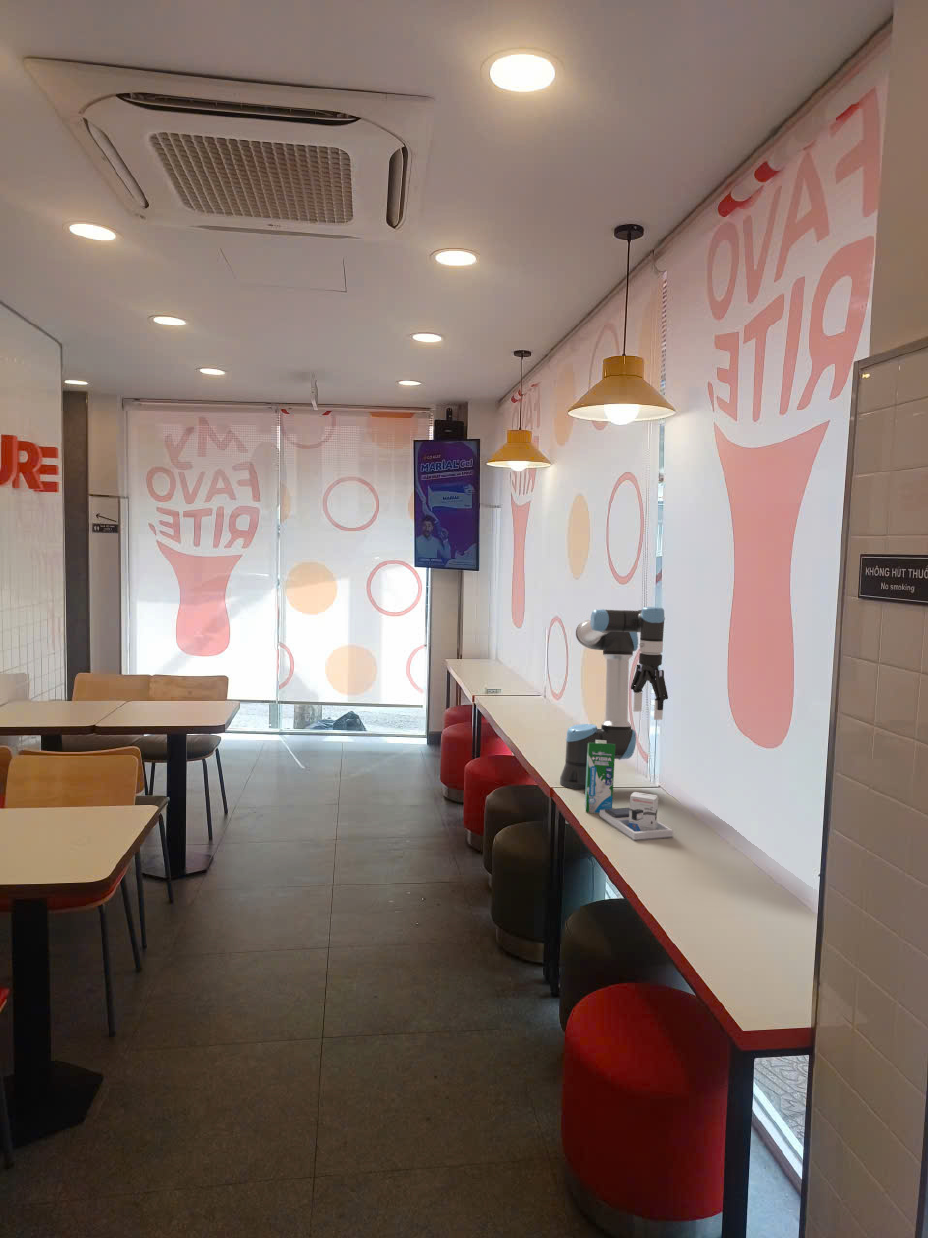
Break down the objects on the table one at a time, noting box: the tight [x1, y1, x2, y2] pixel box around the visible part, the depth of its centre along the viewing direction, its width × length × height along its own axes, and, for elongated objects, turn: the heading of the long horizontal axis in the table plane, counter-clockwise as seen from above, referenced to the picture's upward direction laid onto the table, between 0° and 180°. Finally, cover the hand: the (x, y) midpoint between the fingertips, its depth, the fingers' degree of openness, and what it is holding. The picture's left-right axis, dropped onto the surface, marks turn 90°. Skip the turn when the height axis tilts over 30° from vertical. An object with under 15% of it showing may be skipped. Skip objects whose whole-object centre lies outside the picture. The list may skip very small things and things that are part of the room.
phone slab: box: [605, 807, 630, 818], centre depth 282 cm, size 7×12×1 cm, turn 108°
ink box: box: [629, 791, 659, 831], centre depth 272 cm, size 8×5×12 cm, turn 66°
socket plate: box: [599, 810, 674, 842], centre depth 276 cm, size 24×14×2 cm, turn 18°
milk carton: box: [584, 740, 616, 814], centre depth 293 cm, size 9×9×25 cm
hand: (647, 715), depth 280 cm, fingers open, 13 cm apart
